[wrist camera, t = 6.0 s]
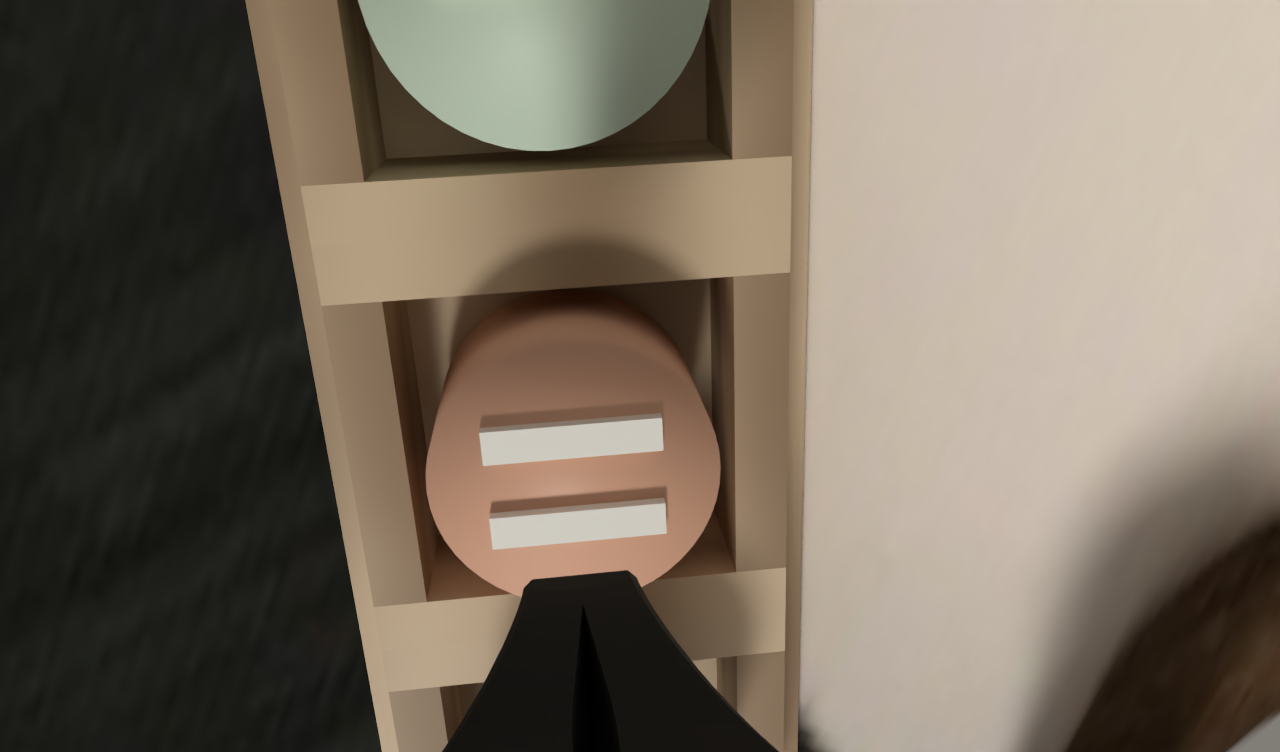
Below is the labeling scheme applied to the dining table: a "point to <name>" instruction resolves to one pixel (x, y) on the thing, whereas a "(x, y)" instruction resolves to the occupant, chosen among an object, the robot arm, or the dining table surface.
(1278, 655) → the dining table surface
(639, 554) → the terracotta button
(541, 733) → the robot arm
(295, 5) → the wooden compartment tray
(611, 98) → the sage button
